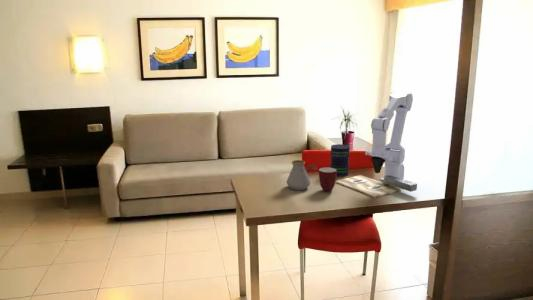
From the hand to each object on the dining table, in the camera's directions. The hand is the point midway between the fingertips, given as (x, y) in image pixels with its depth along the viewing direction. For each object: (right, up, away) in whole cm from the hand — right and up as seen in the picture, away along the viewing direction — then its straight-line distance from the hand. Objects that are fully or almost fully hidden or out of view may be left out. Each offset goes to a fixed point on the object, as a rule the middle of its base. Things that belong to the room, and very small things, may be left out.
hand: (377, 172), depth 181 cm
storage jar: (-12, -2, +28) cm, 30 cm away
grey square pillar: (+10, -7, 0) cm, 12 cm away
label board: (-3, -7, +7) cm, 10 cm away
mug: (-23, -9, +1) cm, 24 cm away
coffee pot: (-34, -9, +2) cm, 35 cm away
